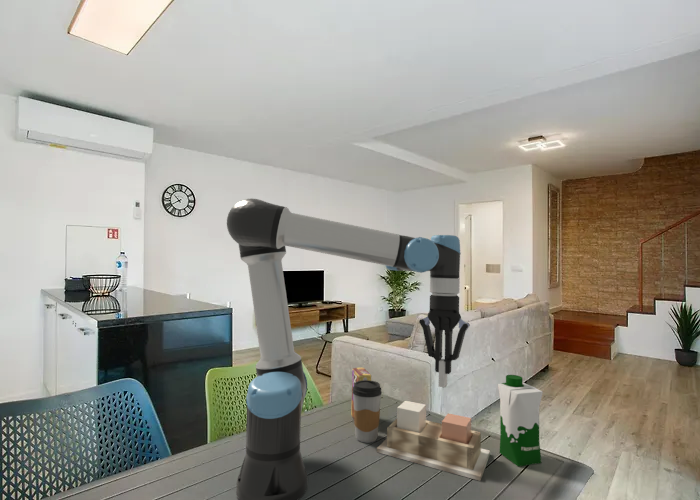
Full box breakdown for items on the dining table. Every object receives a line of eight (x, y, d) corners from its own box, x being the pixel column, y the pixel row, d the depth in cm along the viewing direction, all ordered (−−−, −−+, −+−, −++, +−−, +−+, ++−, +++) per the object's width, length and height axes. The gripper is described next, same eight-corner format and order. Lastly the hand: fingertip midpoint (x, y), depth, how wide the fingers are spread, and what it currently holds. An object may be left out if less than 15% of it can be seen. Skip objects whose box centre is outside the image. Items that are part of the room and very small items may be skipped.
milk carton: (522, 447, 103) (521, 373, 103) (547, 465, 94) (547, 383, 95) (494, 451, 100) (494, 375, 101) (517, 469, 92) (517, 386, 92)
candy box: (371, 425, 116) (371, 374, 116) (357, 426, 115) (358, 375, 115) (363, 414, 124) (364, 367, 125) (350, 415, 123) (351, 367, 124)
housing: (376, 452, 99) (377, 428, 99) (396, 431, 111) (397, 411, 112) (480, 481, 87) (480, 454, 87) (490, 454, 99) (490, 431, 99)
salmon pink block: (441, 449, 95) (441, 421, 95) (447, 440, 100) (448, 413, 100) (466, 455, 92) (466, 426, 92) (471, 445, 97) (471, 418, 98)
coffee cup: (381, 432, 111) (382, 380, 112) (380, 445, 103) (381, 389, 103) (353, 430, 112) (353, 379, 112) (350, 443, 104) (351, 388, 104)
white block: (396, 434, 101) (397, 407, 101) (405, 425, 106) (405, 400, 106) (418, 439, 98) (418, 412, 98) (425, 430, 103) (426, 404, 103)
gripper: (473, 295, 99) (471, 386, 98) (425, 292, 106) (423, 377, 105) (466, 296, 93) (465, 394, 92) (415, 293, 99) (413, 384, 98)
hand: (442, 385), depth 98 cm, fingers closed
